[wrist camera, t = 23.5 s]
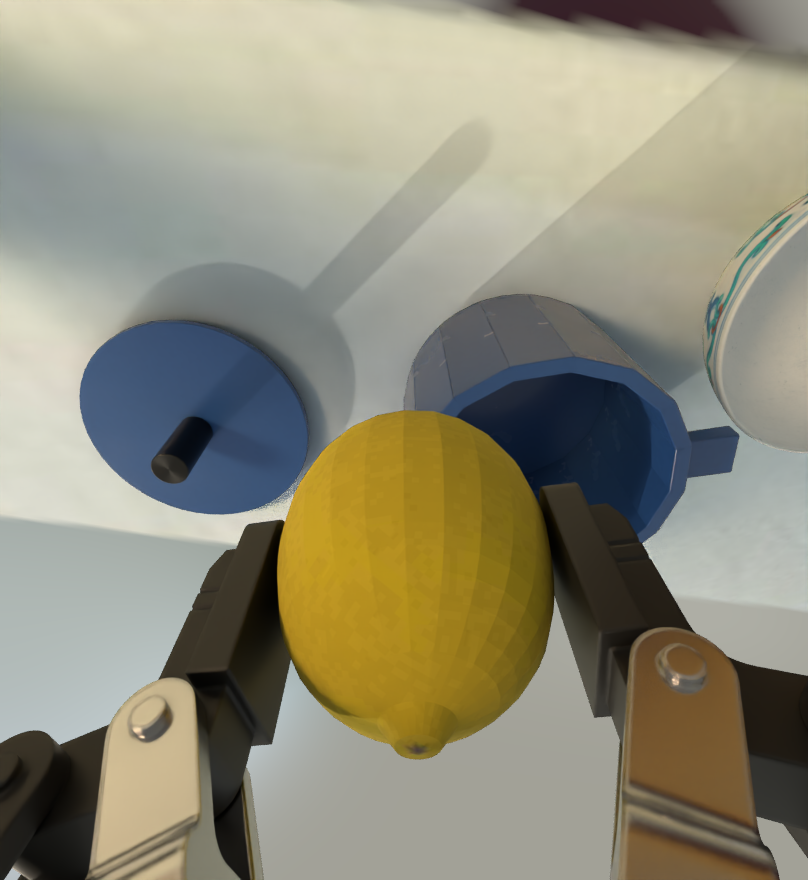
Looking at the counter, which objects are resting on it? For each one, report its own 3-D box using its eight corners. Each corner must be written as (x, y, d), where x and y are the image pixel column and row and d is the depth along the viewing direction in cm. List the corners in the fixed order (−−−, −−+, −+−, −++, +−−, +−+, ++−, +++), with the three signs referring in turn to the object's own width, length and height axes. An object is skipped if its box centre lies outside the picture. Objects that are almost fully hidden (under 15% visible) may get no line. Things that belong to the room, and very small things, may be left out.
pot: (347, 321, 32) (325, 395, 23) (665, 267, 30) (777, 324, 21) (388, 496, 39) (385, 602, 30) (644, 461, 37) (719, 562, 29)
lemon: (540, 383, 13) (697, 664, 6) (475, 538, 15) (530, 850, 9) (329, 335, 12) (228, 589, 5) (301, 506, 15) (213, 816, 8)
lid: (43, 337, 32) (-24, 375, 27) (273, 297, 31) (247, 330, 26) (148, 516, 40) (111, 571, 35) (332, 492, 39) (322, 544, 34)
